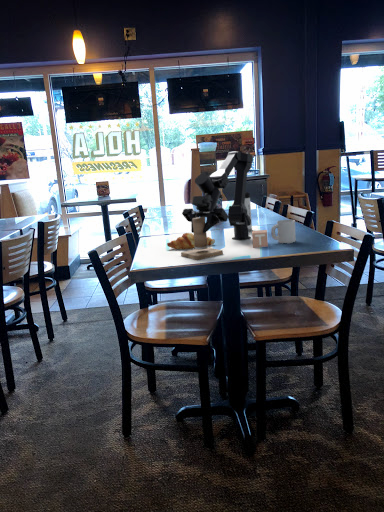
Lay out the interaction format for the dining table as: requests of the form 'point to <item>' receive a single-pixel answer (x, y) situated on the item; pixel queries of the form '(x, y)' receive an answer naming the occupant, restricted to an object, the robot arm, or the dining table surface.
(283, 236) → the cup
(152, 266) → the dining table surface
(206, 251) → the walnut board
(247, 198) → the travel mug
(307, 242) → the dining table surface
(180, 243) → the croissant
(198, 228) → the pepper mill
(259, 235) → the marked block
